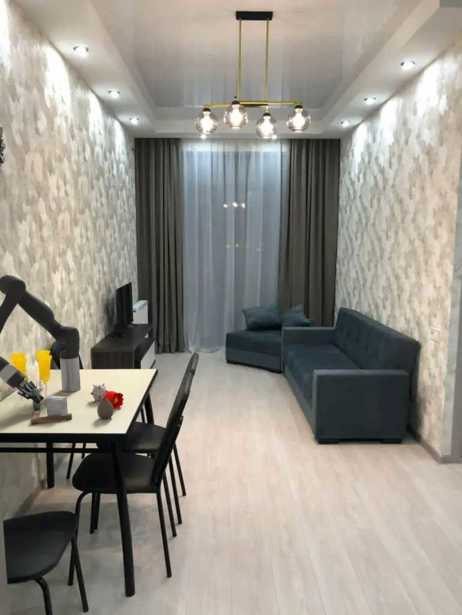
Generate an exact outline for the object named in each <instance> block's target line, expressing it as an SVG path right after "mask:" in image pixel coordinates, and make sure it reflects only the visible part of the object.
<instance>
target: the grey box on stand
mask: <svg viewBox="0 0 462 615" xmlns="http://www.w3.org/2000/svg"><path fill="white" fill-rule="evenodd" d="M32 392H33V393H34V394H35V395H36V396H37V397H38V398H39V399H40V395H41V393H40V392H41V391H40V388H38V389H33V390H32ZM41 404H42V403H41V402H40V403H39V404H37V403H36V402H34V401H33V400H32V409H33V414H32V417H31V425H36V424H44V423H53V422H59V421H60V422H61V421H69V420H73V413H71V412H70V413H68V414H62V415H53V416H47V415H46V416H41V409H42V406H41Z"/></svg>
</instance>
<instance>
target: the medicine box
mask: <svg viewBox="0 0 462 615" xmlns="http://www.w3.org/2000/svg"><path fill="white" fill-rule="evenodd" d="M67 397H68V396H61V395H60V396H59V395H50V396H49V397H47V398H45V401H46V404H45V405H46V416H53V415H62V414H69V409H68V398H67Z"/></svg>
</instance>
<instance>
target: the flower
mask: <svg viewBox="0 0 462 615" xmlns="http://www.w3.org/2000/svg"><path fill="white" fill-rule="evenodd" d="M107 391H108V392H107V393H106V394H105V395H104V396H103V398H107V399H108V400H109V401H110V402H111V404H112V405H113V409H114V410H116V409H118V408H119V409H120V407H122V406H123V404H124V400H125V398H123V397H124V394H123V393H122V392H117V391H114V390H107Z"/></svg>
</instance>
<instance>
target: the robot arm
mask: <svg viewBox="0 0 462 615" xmlns="http://www.w3.org/2000/svg"><path fill="white" fill-rule="evenodd" d="M0 292H1V293H2V294H3V295H5V296H4V299H3V301H2V303H1V305H0V335H1V334H2V331H3V329H4V328H5V325H6V323H7V321H8V319H9V317H10V316H11V314H12V312H13V311H14V310H15V308H16V307H17V305H18V306H19V307H20V308H21V309H22V310H23V311H24V312H25V313H26V314H27V315H28V316H29V317H30V318H31V319H33V320H34V321H35V322H36V323H37V324H38V325H40V327H42V328H44V329H45V331H47V332H48V333H49V334H50V336H51V338H53V340H55V341H56V342H57V343H58V344H61V345H65V349H64V350H62V351H61V352H60V353H59V361H60V362H59V363H60V375H61V376H60V379H61V390H62V392H64V393H71V392H72V393H73V392H78V391H79V390H81V388H82V387H81V374H80V372H81V371H80V359H79V357H80V356H79V354H80V350H81V349H80V346H81V345H80V332H79V329H78V328H77V327H74V326H65V325H63V324H61V323H60V322H59V321H57V320H56V318H55V317H56V316H55V314H54V311H53V310H52V308H51V307H50V306H49V305H48V304H47V303H45V302H44V301H43V300H42V299H40V298H39V297H37V296H36V295H34V294H33V293H31V292H29V291H28V290H27V286H26V283H25V281H24V280H23V279H21V278H19V277H16V276H15V275H12V274H5V275H3V276H1V277H0ZM0 379H1V381H3V382H4V383H5V384H7V386H9V387H11V389H13V390H15V389H17V390H18V391H17V394H18V395H19V396H21V397H23V398H24V399H26V400H32V402H33V401H34V402H36V403H37V404H39V403H41V402H42V401H43V400H44V399H45V397H44V396H43V395H42V394H40V399H39V398H38V397H37V396H36V395H35V394H34V393H33V392H32V390H33V389H39V388H38V387H37V386H36V385H35V383H34V382H33V381H32V380H30V381H28V380H26V375H25V374H24V373H22V372H21V370H19V369H18V368H17V367H16V366H14V365H13V364H12V363H10V362H9V361H8V360H6V359H5V358H4V357H2V356H0Z"/></svg>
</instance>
